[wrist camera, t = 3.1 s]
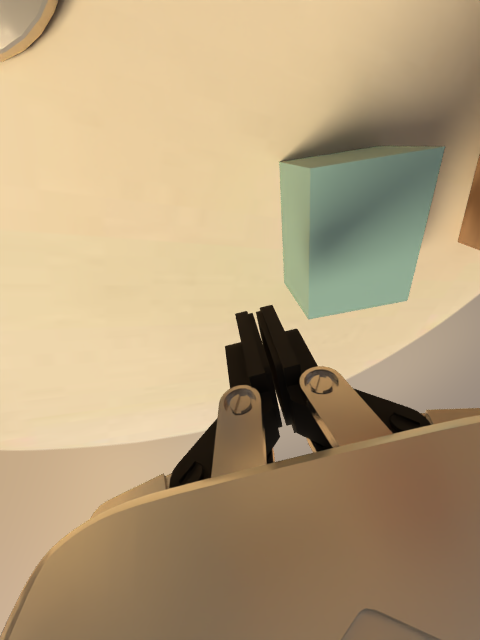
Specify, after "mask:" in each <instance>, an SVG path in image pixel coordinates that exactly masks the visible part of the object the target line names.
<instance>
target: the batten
mask: <svg viewBox="0 0 480 640" xmlns="http://www.w3.org/2000/svg"><path fill="white" fill-rule="evenodd" d="M458 242H459V243H462V244H465V245H467V246H470V247H473V248H475V249H478V250H480V155H479V159H478V163H477V167H476V171H475V175H474V179H473V183H472V187H471V191H470V195H469V199H468V203H467V207H466V211H465V215H464V219H463V223H462V227H461V231H460V235H459V239H458Z"/></svg>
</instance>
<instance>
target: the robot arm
mask: <svg viewBox="0 0 480 640" xmlns="http://www.w3.org/2000/svg"><path fill="white" fill-rule="evenodd" d="M57 2H58V0H0V62H2V61H5V60H7V59H9V58H11V57H13V56H15V55H17V54H19V53H21V52H23V51H24V50H25V49H26V48H28V47H29V46H30V45H31V44H32V43H33V42H34V41H35V40H36V39H37V38H38V37H39V36H40V35H41V34H42V32H43V30H44V29H45V27H46V25H47V24H48V22H49V20H50V19H51V17H52V15H53V14H54V12H55V9H56V5H57ZM256 314H257V319H258V324H259V329H260V333H261V338H262V341H261V338H260V335H259V332H258V328H257V325H256V322H255V319H254V316H253V313H250V314H248V313H247V311H245V312H241V313H237V314H235V315H236V320H237V325H238V329H239V334H240V339H241V342H240V343H236V344H232V345H228V346H225V351H226V359H227V367H228V375H229V383H230V389H229V390H228V391H226V392H225V393H224V394H223V396H222V397H221V399H220V402H219V410H218V418H217V419H216V420H215V422H214V423H213V424H212V425H211V426H210V427H209V428H208V430H207V431H206V432H205V433H204V434H203V435H202V437H201V438H200V439H199V440H198V441H197V442H196V444H195V445H194V446H193V447H192V448H191V450H189V452H188V453H187V454H186V455H185V456H184V457H183V459H182V460H181V461H180V462H179V463H178V464H177V466H176V467H175V469H174V470H173V472H172V473H171V474H169V475H167V476H165V475H164V474H161V475H159V476H157V477H155V478H153V479H151V480H149V481H147V482H145V483H143V484H141V485H139V486H137V487H135V488H133V489H130V490H128V491H126V492H124V493H122V494H120V495H118V496H116V497H114V498H112V499H110V500H108V501H106V502H105V503H103V504H102V505H101V506H99V507H98V509H97V510H96V511H95V512H94V513H93V515H92V516H91V518H90V519H89V520H88V521H86V522H85V523H83V524H82V525H80V526H79V527H77V528H76V529H74V530H73V531H71V532H70V533H69V534H67V535H66V536H65V537H64V538H62V539H61V540H60V541H59V542H58V543H57V544H55V545H54V546H53V547H52V548H51V549H50V550H49V551H48V552H47V554H46V555H45V556H44V557H43V558H42V559H41V561H40V562H39V564H38V565H37V566H36V568H35V569H34V571H33V573H32V574H31V576H30V577H29V579H28V581H27V582H26V585H25V586H24V588H23V590H22V592H21V594H20V596H19V598H18V600H17V602H16V604H15V606H14V608H13V610H12V612H11V614H10V616H9V618H8V620H7V622H6V625H5V627H4V629H3V631H2V634H1V636H0V640H480V408H468V409H437V410H436V409H435V410H426V412H425V413H419V412H418V411H415V410H413V409H411V408H408V407H405V406H403V405H400V404H396V403H394V402H391V401H388V400H385V399H382V398H379V397H376V396H373V395H371V394H367V393H365V392H362V391H359V390H356V389H353V388H352V387H351V386H350V385H349V383H348V382H347V381H346V380H345V379H344V378H343V377H342V375H341V374H340V373H338V372H337V371H336V370H334V369H332V368H329V367H324V366H317V364H316V362H315V360H314V358H313V356H312V355H311V353H310V351H309V349H308V347H307V345H306V344H305V342H304V340H303V338H302V336H301V334H300V333H299V331H298V329H293V330H289V331H284V329H283V327H282V325H281V323H280V320H279V318H278V316H277V314H276V312H275V310H274V308H273V306H272V305H269V306H265V307H261V308H260V311H258V312H256ZM262 343H263V344H262ZM275 391H276V392H275ZM276 394H277V397H278V400H279V403H280V407H281V410H282V412H283V416H284V419H285V423H286V425H291V424H292V427H293V430H294V433H296V432H297V433H298V434H300V435H302V436H304V437H306V438H307V441H308V444H309V446H310V448H311V449H312V451H313V453H311V454H306V455H302V456H298V457H294V458H290V459H286V460H282V461H278V462H275V457H274V451H273V447H274V445H275V444H276V442H277V441H278V439H279V437H280V435H279V430H278V428H279V427H282V422H281V417H280V412H279V407H278V402H277V397H276Z"/></svg>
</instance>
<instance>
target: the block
mask: <svg viewBox="0 0 480 640" xmlns="http://www.w3.org/2000/svg"><path fill="white" fill-rule="evenodd" d="M444 149H445V147H442V146H375V147H369V148H363V149H357V150H350V151H344V152H338V153H332V154H326V155H319V156H313V157H307V158H301V159H294V160H288V161H282V162H279V165H280V189H281V213H282V237H283V261H284V283H285V284H286V286H287V287H288V289H289V290H290V292H291V294H292V295H293V297H294V298H295V300H296V301H297V303H298V304H299V306H300V307H301V309H302V310H303V312H304V313H305V315H306V317H307V318H308V319H313V318H319V317H324V316H329V315H334V314H340V313H345V312H350V311H355V310H361V309H366V308H371V307H377V306H382V305H387V304H392V303H398V302H403V301H407V300H408V296H409V292H410V288H411V284H412V280H413V276H414V272H415V267H416V263H417V259H418V255H419V251H420V247H421V243H422V239H423V235H424V231H425V227H426V223H427V219H428V214H429V210H430V206H431V202H432V198H433V194H434V190H435V186H436V182H437V178H438V174H439V170H440V166H441V162H442V157H443V153H444Z"/></svg>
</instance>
